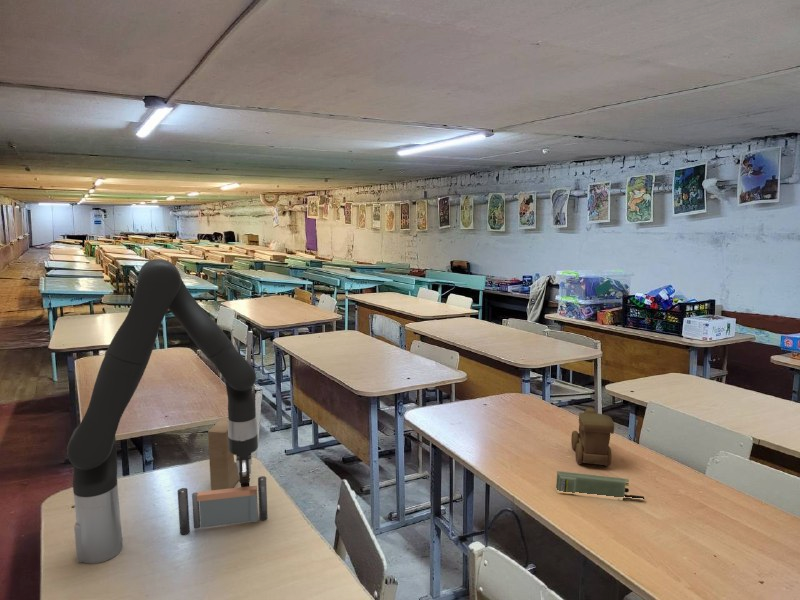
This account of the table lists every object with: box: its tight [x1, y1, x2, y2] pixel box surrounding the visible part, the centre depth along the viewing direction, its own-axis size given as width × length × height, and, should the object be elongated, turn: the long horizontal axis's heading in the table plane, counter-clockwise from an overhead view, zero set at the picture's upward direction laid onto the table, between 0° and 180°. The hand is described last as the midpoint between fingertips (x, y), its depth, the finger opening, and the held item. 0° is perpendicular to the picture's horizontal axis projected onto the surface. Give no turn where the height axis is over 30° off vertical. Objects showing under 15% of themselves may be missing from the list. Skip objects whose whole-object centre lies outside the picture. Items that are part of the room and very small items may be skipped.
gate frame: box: [177, 475, 268, 536], centre depth 140 cm, size 22×3×12 cm, turn 110°
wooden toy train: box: [570, 407, 615, 467], centre depth 181 cm, size 20×11×17 cm, turn 170°
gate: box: [191, 485, 259, 530], centre depth 139 cm, size 16×2×9 cm, turn 104°
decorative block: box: [207, 416, 240, 491], centre depth 160 cm, size 11×6×20 cm, turn 175°
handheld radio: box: [555, 470, 645, 500], centre depth 157 cm, size 7×3×25 cm
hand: (245, 492), depth 143 cm, fingers closed
